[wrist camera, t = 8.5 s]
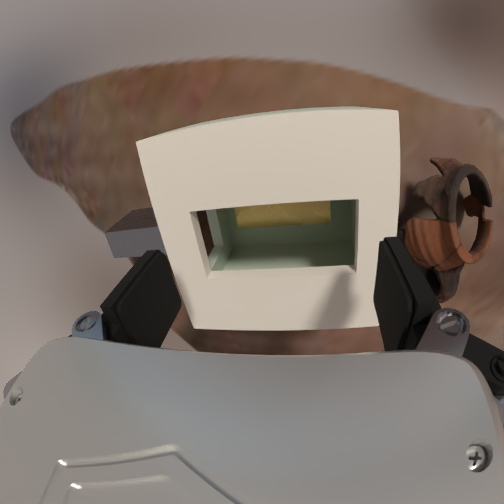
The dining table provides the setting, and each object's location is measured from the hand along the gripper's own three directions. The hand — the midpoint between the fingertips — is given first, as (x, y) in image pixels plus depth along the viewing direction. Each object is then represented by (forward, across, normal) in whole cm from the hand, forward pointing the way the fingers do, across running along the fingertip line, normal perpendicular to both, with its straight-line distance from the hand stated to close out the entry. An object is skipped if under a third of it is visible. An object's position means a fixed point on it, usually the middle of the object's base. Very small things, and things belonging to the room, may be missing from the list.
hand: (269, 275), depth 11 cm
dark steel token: (+13, +12, +2) cm, 18 cm away
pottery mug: (+13, -13, +4) cm, 18 cm away
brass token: (+12, 0, 0) cm, 12 cm away
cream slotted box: (+13, 0, 0) cm, 13 cm away
